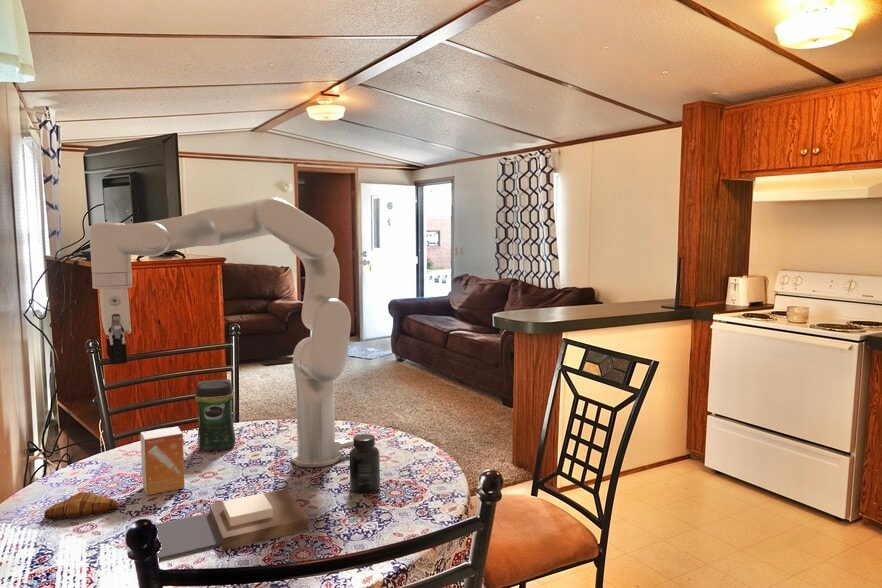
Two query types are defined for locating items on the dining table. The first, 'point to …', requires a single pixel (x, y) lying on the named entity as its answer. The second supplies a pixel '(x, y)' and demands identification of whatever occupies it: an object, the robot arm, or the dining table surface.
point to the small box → (162, 460)
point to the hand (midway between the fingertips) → (116, 359)
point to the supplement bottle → (364, 465)
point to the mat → (187, 536)
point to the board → (262, 522)
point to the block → (247, 509)
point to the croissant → (81, 506)
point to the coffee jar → (215, 415)
